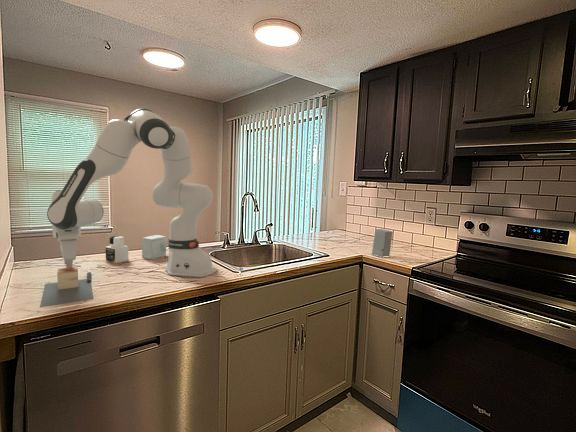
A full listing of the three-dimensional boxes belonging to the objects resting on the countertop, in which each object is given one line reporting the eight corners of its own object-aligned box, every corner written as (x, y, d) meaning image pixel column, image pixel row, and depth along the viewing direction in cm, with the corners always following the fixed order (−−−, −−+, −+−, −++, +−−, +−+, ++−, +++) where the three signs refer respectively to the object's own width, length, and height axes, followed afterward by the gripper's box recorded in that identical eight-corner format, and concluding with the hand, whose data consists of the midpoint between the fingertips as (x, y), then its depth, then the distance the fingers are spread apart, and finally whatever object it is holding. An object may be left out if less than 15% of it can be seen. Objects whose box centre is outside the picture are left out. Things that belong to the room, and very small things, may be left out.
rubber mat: (45, 284, 115) (45, 283, 115) (90, 279, 123) (90, 278, 122) (39, 308, 95) (39, 307, 95) (93, 300, 103) (93, 298, 103)
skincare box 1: (151, 259, 155) (150, 238, 154) (141, 257, 158) (141, 237, 157) (166, 255, 165) (166, 235, 164) (157, 253, 167) (157, 234, 166)
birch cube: (58, 284, 114) (57, 268, 114) (78, 282, 118) (77, 266, 117) (57, 289, 110) (57, 273, 109) (78, 286, 113) (77, 270, 112)
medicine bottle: (105, 261, 149) (104, 236, 148) (119, 258, 155) (119, 234, 154) (114, 263, 146) (114, 238, 144) (128, 260, 152) (128, 236, 151)
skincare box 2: (371, 255, 187) (373, 228, 185) (379, 253, 191) (381, 228, 189) (382, 258, 180) (385, 231, 178) (390, 257, 184) (393, 230, 182)
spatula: (97, 264, 144) (97, 261, 144) (98, 280, 120) (98, 277, 119) (81, 266, 141) (81, 263, 141) (79, 283, 116) (79, 279, 116)
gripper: (55, 227, 125) (56, 261, 126) (58, 236, 109) (59, 274, 111) (74, 227, 129) (75, 259, 130) (79, 235, 113) (80, 272, 115)
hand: (68, 266), depth 120 cm, fingers open, 8 cm apart
